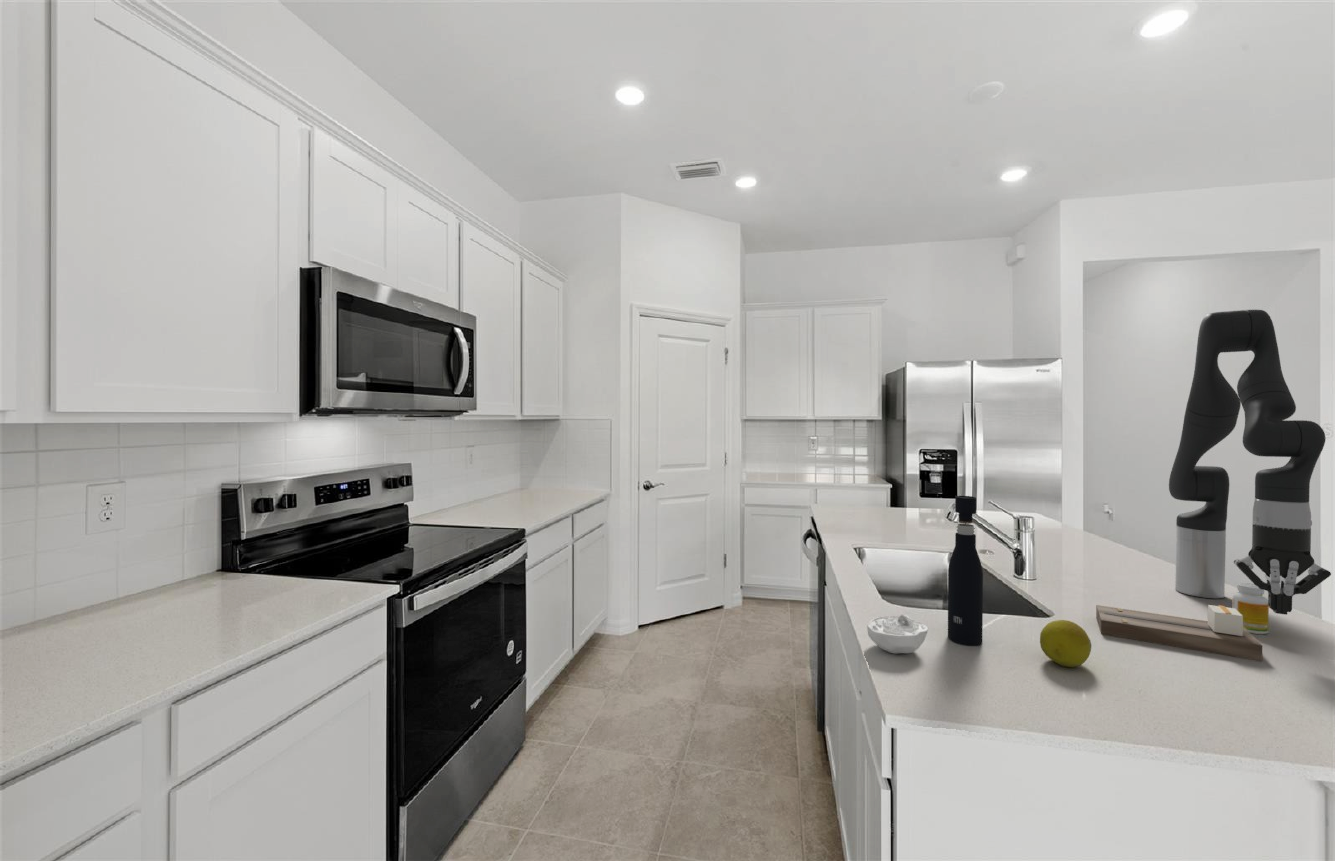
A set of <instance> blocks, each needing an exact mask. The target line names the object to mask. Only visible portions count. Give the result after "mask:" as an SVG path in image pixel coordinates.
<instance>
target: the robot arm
mask: <svg viewBox="0 0 1335 861" xmlns="http://www.w3.org/2000/svg"><path fill="white" fill-rule="evenodd" d="M1199 325H1200V326H1199V329H1198V330H1199V331H1198V336H1197V343H1196V344H1197V345H1196V352H1195V362H1194V364H1195V365H1194V371H1193V378H1192V382H1191V387H1190V390H1189V395H1188V399H1187V403H1186V407H1185V412H1184V417H1183V423H1182V430H1181V436H1180V441H1179V445H1178V449H1177V452H1176V455H1175V459H1174V462H1173V465H1172V468H1171V471H1170V473H1169V474H1170V475H1169V479H1168V491H1169V494H1170V496H1171V497H1172V498H1173V499H1175V500H1179V501H1183V502H1184V501H1185V502H1186V501H1187V502H1202V503H1203V502H1204V503H1205V504H1204V506H1202V507H1201V508H1198V509H1195V510H1192V511H1187V512H1184V513H1179V514H1178V515H1177V516H1176V520H1175V521H1176V526H1175V528H1176V530H1175V531H1176V532H1175V533H1176V542H1175V543H1176V544H1175V581H1174V582H1175V584H1174V585H1175V587H1174V589H1175V590H1176V592H1179V593H1182V594H1185V595H1188V596H1193V597H1199V598H1205V599H1224V598H1225V592H1226V588H1225V586H1226V585H1225V584H1226V554H1227V553H1226V551H1227V550H1226V548H1227V547H1226V545H1227V542H1226V541H1227V539H1226V538H1227V533H1226V532H1227V519H1228V506H1229V505H1228V503H1229V497H1230V496H1229V493H1230V477H1229V474H1228V472H1227V470H1226V469H1225V468H1223V467H1221V466H1214V465H1213V466H1212V465H1211V466H1209V465H1208V466H1207V465H1205V466H1204V465H1197V463H1198V462H1199V460H1200V459H1201V458H1202V457H1203V456H1204V454H1206V453H1207V452H1208V451H1210V450H1211V449H1212V448H1214V447H1215V446H1216V445H1218V444H1219V443H1220V442H1222V441H1223V440H1225V439H1226V438H1227V437H1228V436H1229V435H1230V434H1231V433H1232V432H1233V431H1234V429H1235V428H1236V426H1237V422H1238V418H1239V414H1240V410H1241V405H1242V409H1243V411H1244V429H1243V435H1242V445H1243V447H1244V449H1246V451H1247V452H1248V453H1250V454H1251V455H1254V456H1257V457H1265V458H1266V457H1270V458H1271V457H1273V458H1274V457H1275V458H1278V457H1279V458H1281V457H1282V458H1283V457H1284V458H1289V461H1288V462H1287V463H1286V464H1284V465H1283V466H1280V467H1275V468H1274V467H1273V468H1264V469H1261V470H1259V471H1257V472H1256V474H1255V477H1254V502H1253V505H1252V506H1253V507H1252V530H1251V532H1252V537H1251V538H1252V539H1251V540H1252V541H1251V545H1252V546H1251V549H1250V550H1249V552H1248V554H1247V556H1245V557H1243V558H1240V559H1235V560H1234V561H1233V564H1234V565H1235V566H1236V567H1237V568H1238V569H1239V570H1240V571H1241V572H1242V573H1243V574H1244V575H1245V576H1246V577H1247V579H1249V580H1250V581H1251V582H1252V584H1255V585H1256V586H1257V587H1259V588H1260V589H1263V590H1264V591H1267V599H1268V606H1269V609H1270V610H1272V612H1274V613H1275V614H1277V615H1285V616H1287V615H1288V613H1291V612H1292V610H1293V597H1294V596H1295V595H1305V594H1308V593H1309V592H1310V591H1312V590H1313V589H1315V587H1317V586H1318V585H1320V584H1321V583H1323V582H1324V581H1325V580H1327V579H1328V578H1329V577H1331V575H1332V572H1331V571H1329V570H1327V569H1326V568H1324V567H1321V566H1319V565H1318V564H1316V563H1315V559H1314V557H1313V556H1312V554H1311V545H1312V544H1311V543H1312V540H1311V539H1312V538H1311V537H1312V525H1313V521H1312V512H1311V507H1310V487H1311V486H1310V484H1311V483H1310V482H1311V478H1312V475H1313V473H1314V470H1315V467H1316V464H1317V462H1318V460H1319V458H1320V456H1321V454H1322V451H1323V449H1324V446H1325V444H1326V438H1327V437H1326V434H1325V431H1324V429H1323V427H1322V426H1321V425H1319V424H1318V423H1316V422H1315V421H1312V420H1303V419H1301V420H1298V419H1297V420H1288V419H1289V418H1291V417H1293V415H1294V414H1295V413H1296V410H1297V406H1296V405H1297V404H1296V403H1295V400H1294V398H1293V395H1292V393H1291V391H1290V389H1289V387H1288V385H1287V383H1286V379H1285V378H1284V374H1283V371H1282V366H1281V358H1280V357H1281V356H1280V353H1279V346H1278V340H1277V335H1276V330H1275V327H1274V326H1275V325H1274V322H1273V320H1272V317H1271V316H1270V315H1269V313H1268V312H1267V311H1266V310H1263V309H1241V310H1229V311H1216V312H1209V313H1208V314H1206V315H1205V316H1204V317H1203V319H1202V320H1201V322H1200V324H1199ZM1250 351H1251V352H1252V353H1253V359H1252V360H1251V362H1250V363H1249V365H1248V366H1247V367H1246V369H1245V370H1244V371H1243V372H1242V374H1241V375H1240V377H1239V379H1238V381H1237V385H1236V390H1234V389H1235V388H1233V386H1232V385H1231V384H1230V382H1228V380H1227V379H1226V378H1225V377H1224V374H1223V373H1222V371H1221V370H1220V367H1219V355H1220V353H1237V352H1239V353H1240V352H1241V353H1242V352H1250ZM1236 391H1237V392H1236ZM1253 563H1254V564H1255V565H1256V566H1257V567H1258V568H1259V569H1260V570H1261V572H1262V573H1264V577H1265V580H1266V581H1265V582H1264V581H1263V580H1262V579H1261V578H1260V577H1259V576H1258V575H1257V573H1255V572H1254V571H1253V569H1254V568H1255V567H1254V564H1253ZM1306 571H1307V575H1306V576H1305V577H1303V578H1302V579H1301V580H1299V581H1298V582H1297V577H1300V576H1301V575H1303V573H1305V572H1306Z"/></svg>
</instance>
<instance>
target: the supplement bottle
mask: <svg viewBox="0 0 1335 861" xmlns="http://www.w3.org/2000/svg"><path fill="white" fill-rule="evenodd" d="M1236 585H1237V586H1236V588H1237V589H1236V590H1237V591H1238V592H1235V593H1233V594H1232V603H1231V604H1232V607H1231V608H1235V609H1236V610H1237V611H1238V612H1239V613H1240V614H1241V615H1242V616H1243V627H1245V628H1246V629H1247V630H1248V631H1249V632H1250V633H1251V634H1255V635H1266V634H1268V633H1269V609H1270V608H1269V606H1268V597H1267V598H1266V597H1265V596H1264V595H1265V590H1263V589H1260V588H1259V587H1257V586H1256V585H1255V584H1254V583H1248V582H1247V583H1246V582H1237V584H1236Z"/></svg>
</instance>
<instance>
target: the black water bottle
mask: <svg viewBox="0 0 1335 861" xmlns="http://www.w3.org/2000/svg"><path fill="white" fill-rule="evenodd" d="M954 500H955V510H954V512H955V513H957V514H958V522H959V523H957V525H956V532H955V533H954V534H955V536H954V538H955V543H954V544H955V545H954V548H953V550H952V553H951V556H950V559H949V564H948V569H947V638H948V640H950V641H951V642H953V643H956V644H958V645H961V646H968V647H969V646H970V647H975V646H980V645H982V644H983V615H984V614H983V612H984V611H983V609H984V607H983V603H984V599H983V598H984V597H983V592H984V589H983V588H984V582H983V581H984V580H983V579H984V573H983V568H982V562H981V558H980V556H979V554H978V551H977V547H976V544H977V539H976V536H977V535H976V534H975V525H974V524H973V522H974V521H973V515H975V514H977V496H971V495H956V496H955V499H954Z"/></svg>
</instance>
